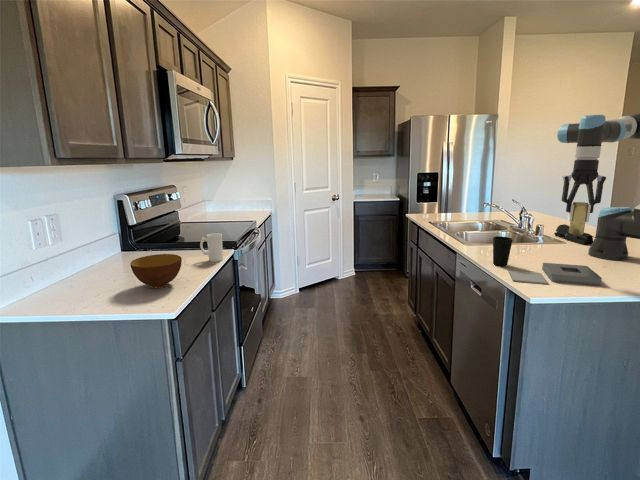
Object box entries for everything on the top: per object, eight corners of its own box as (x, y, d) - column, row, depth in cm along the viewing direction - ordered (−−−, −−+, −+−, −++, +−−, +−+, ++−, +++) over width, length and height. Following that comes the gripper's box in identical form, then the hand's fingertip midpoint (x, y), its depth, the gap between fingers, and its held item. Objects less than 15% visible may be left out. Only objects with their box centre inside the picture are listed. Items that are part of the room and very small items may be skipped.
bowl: (122, 290, 141) (119, 264, 139) (158, 276, 157) (155, 252, 155) (160, 296, 135) (157, 269, 133) (193, 281, 151) (191, 256, 149)
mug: (224, 257, 184) (222, 233, 181) (222, 261, 177) (221, 236, 174) (202, 258, 182) (200, 233, 180) (200, 262, 176) (198, 237, 173)
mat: (541, 274, 156) (541, 273, 156) (548, 284, 145) (548, 283, 145) (508, 272, 159) (508, 270, 159) (513, 281, 148) (513, 280, 148)
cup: (487, 262, 173) (489, 236, 170) (503, 262, 173) (506, 236, 171) (496, 267, 165) (499, 240, 162) (513, 267, 166) (516, 240, 163)
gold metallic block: (581, 232, 150) (585, 202, 148) (585, 234, 146) (590, 203, 143) (567, 231, 152) (571, 201, 149) (570, 234, 147) (575, 203, 145)
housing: (586, 272, 158) (587, 265, 157) (600, 285, 143) (601, 278, 142) (542, 269, 163) (542, 262, 162) (551, 281, 148) (552, 274, 147)
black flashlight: (585, 247, 201) (588, 232, 199) (549, 236, 225) (551, 222, 223) (596, 247, 202) (599, 232, 200) (559, 235, 226) (562, 221, 224)
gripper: (611, 158, 143) (601, 220, 149) (556, 158, 148) (549, 218, 154) (619, 159, 136) (609, 224, 142) (562, 159, 142) (553, 221, 147)
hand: (577, 221), depth 148 cm, fingers closed on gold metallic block, 5 cm apart
